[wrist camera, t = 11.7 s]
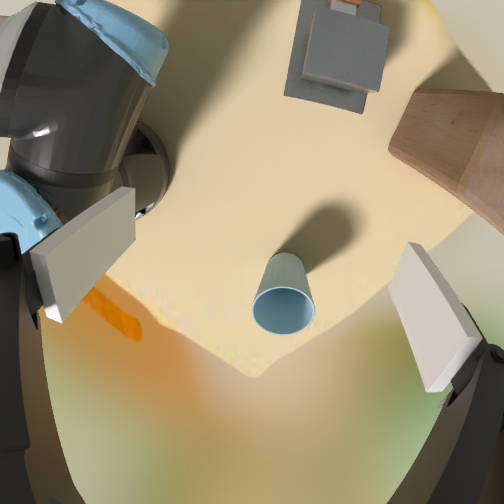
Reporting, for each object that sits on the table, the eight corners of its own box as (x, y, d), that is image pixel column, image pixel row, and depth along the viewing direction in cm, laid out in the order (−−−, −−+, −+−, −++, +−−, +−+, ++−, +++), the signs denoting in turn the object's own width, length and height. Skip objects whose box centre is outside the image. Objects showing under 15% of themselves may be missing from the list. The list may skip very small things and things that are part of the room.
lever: (283, 95, 34) (282, 93, 27) (307, -31, 25) (310, -55, 18) (361, 114, 34) (377, 117, 27) (382, -11, 24) (400, -29, 18)
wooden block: (413, 87, 31) (507, 88, 13) (467, 127, 31) (565, 161, 14) (383, 150, 35) (458, 198, 18) (438, 185, 36) (521, 251, 19)
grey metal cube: (310, 24, 26) (316, 5, 20) (370, 40, 26) (390, 27, 19) (300, 78, 30) (304, 71, 23) (360, 93, 29) (378, 91, 23)
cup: (269, 237, 43) (264, 278, 34) (319, 255, 44) (325, 298, 34) (252, 279, 47) (243, 324, 38) (298, 294, 47) (299, 341, 38)
